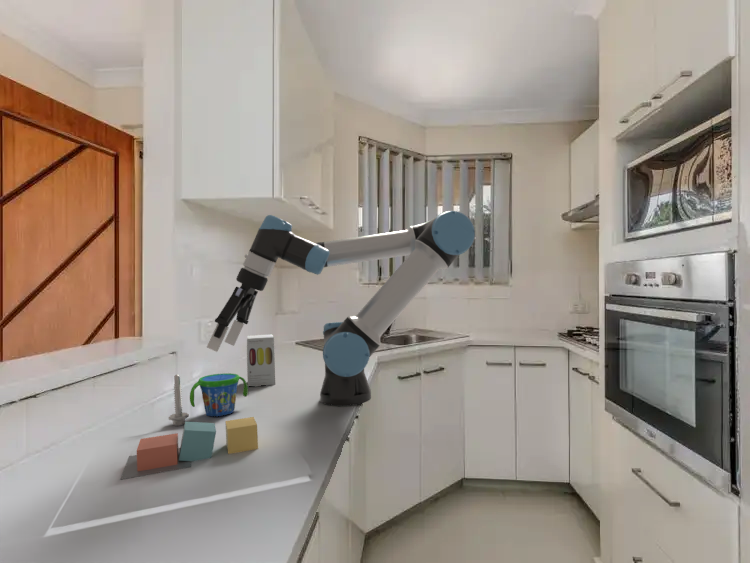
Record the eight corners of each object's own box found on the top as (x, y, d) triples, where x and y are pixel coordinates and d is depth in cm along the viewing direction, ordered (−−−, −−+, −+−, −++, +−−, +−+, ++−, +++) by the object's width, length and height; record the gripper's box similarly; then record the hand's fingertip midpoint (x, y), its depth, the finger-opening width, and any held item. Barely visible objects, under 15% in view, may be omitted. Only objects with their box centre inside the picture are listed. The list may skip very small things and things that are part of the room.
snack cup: (242, 404, 133) (241, 369, 133) (254, 412, 124) (252, 375, 124) (186, 414, 124) (185, 378, 124) (194, 424, 116) (193, 385, 116)
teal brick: (209, 451, 97) (214, 423, 97) (210, 461, 91) (216, 431, 92) (179, 450, 94) (185, 421, 95) (178, 460, 89) (184, 430, 89)
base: (191, 449, 98) (190, 427, 98) (191, 470, 87) (190, 446, 87) (129, 459, 94) (128, 437, 93) (120, 483, 82) (119, 457, 82)
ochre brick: (254, 443, 101) (253, 416, 101) (258, 452, 95) (257, 424, 95) (226, 448, 98) (225, 421, 98) (228, 458, 93) (227, 429, 93)
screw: (170, 422, 118) (190, 420, 119) (167, 428, 113) (188, 425, 115) (168, 373, 118) (187, 371, 119) (165, 377, 113) (186, 375, 114)
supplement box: (247, 387, 154) (245, 338, 153) (247, 381, 162) (245, 335, 162) (276, 384, 156) (274, 336, 156) (274, 379, 165) (273, 333, 165)
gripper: (254, 269, 130) (223, 336, 129) (227, 262, 105) (188, 345, 105) (278, 279, 130) (247, 346, 129) (256, 275, 105) (218, 358, 104)
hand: (221, 346), depth 117 cm, fingers open, 13 cm apart
